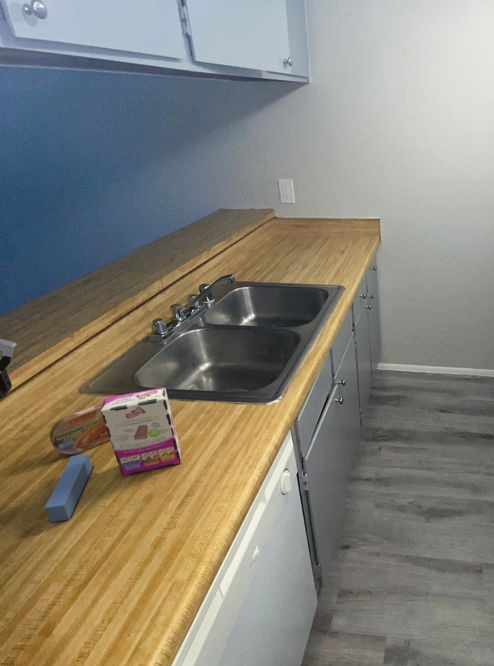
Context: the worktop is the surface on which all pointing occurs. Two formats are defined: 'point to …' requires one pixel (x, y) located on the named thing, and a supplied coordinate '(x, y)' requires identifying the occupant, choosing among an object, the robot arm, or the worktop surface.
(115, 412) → the candy bar box
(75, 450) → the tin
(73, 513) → the strip
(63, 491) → the stick
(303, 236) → the worktop surface
